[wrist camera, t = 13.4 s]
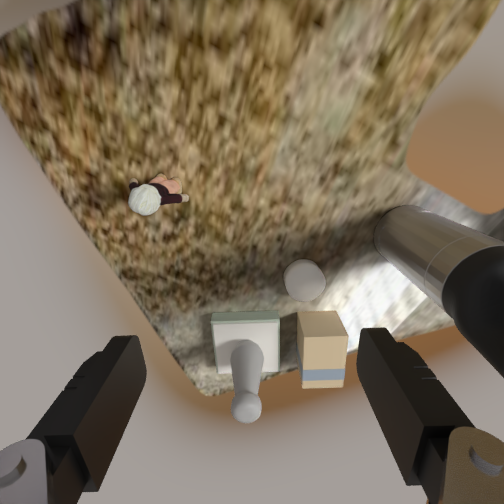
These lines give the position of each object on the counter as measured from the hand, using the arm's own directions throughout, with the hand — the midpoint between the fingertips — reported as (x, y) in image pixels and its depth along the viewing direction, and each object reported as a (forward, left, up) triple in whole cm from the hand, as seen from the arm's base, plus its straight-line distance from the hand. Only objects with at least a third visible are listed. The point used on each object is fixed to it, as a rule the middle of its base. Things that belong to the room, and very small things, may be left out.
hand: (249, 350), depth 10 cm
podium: (+2, +28, -34) cm, 44 cm away
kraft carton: (-11, +28, -34) cm, 45 cm away
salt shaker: (+2, +28, -31) cm, 42 cm away
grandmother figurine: (+12, -1, -34) cm, 36 cm away
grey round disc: (-8, +15, -34) cm, 38 cm away
